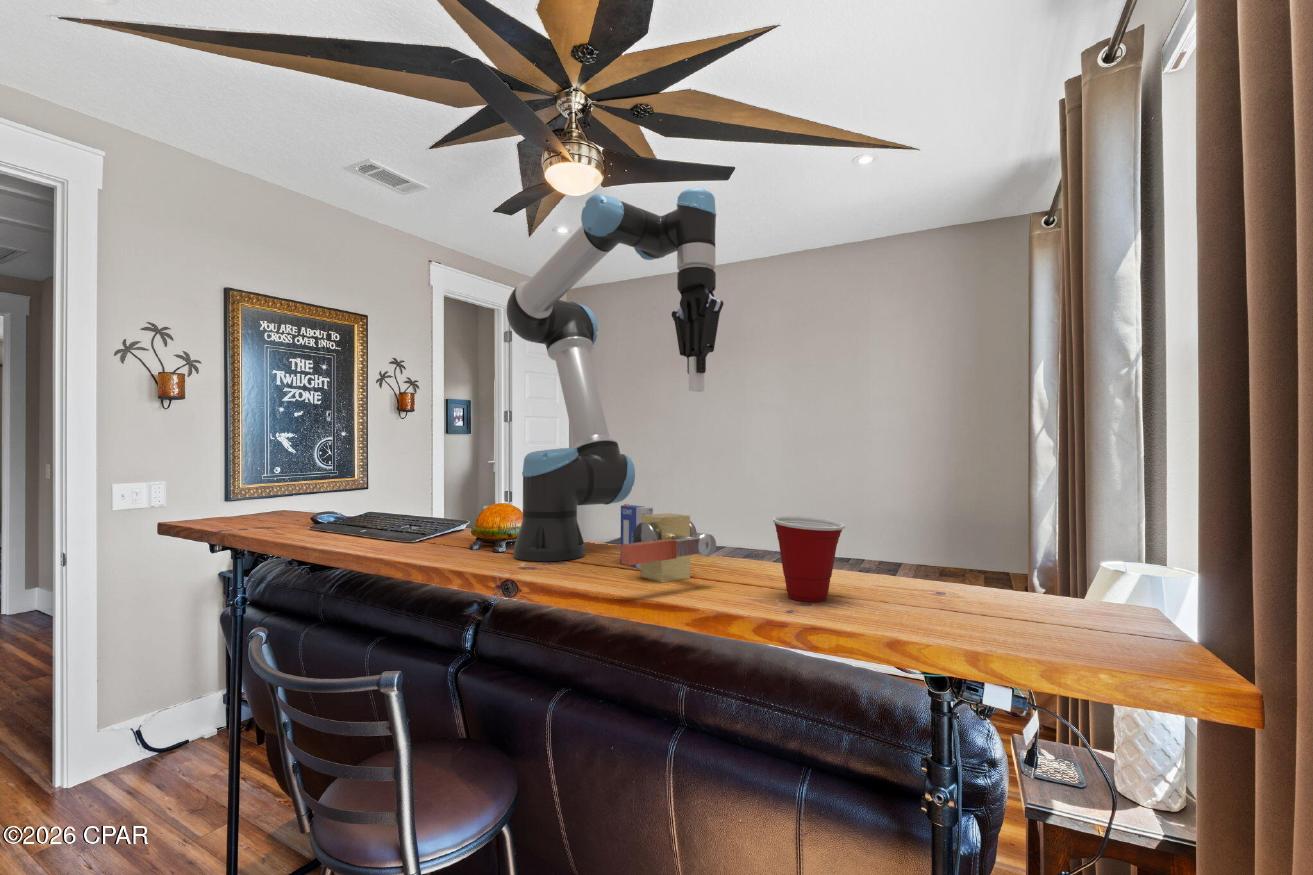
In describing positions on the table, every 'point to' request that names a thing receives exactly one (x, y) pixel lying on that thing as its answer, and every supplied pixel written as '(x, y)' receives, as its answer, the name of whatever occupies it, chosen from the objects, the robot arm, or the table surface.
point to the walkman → (631, 523)
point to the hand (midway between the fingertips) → (696, 390)
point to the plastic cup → (807, 555)
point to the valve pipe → (663, 529)
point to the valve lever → (667, 549)
